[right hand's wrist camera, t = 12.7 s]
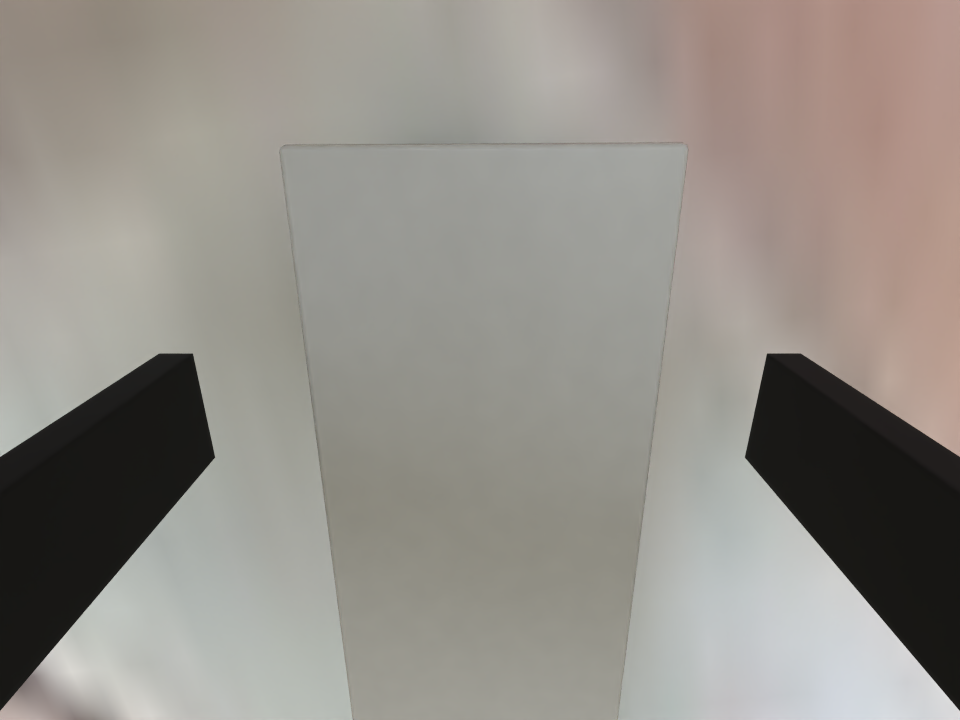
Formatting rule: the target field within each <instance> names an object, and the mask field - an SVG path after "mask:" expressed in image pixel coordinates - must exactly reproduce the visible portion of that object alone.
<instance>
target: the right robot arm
mask: <svg viewBox="0 0 960 720" xmlns="http://www.w3.org/2000/svg"><path fill="white" fill-rule="evenodd" d="M214 458H215V455H214V450H213V446H212V441H211V436H210V432H209V427H208V422H207V418H206V413H205V408H204V404H203V399H202V394H201V390H200V385H199V380H198V376H197V371H196V366H195V362H194V357H193V354H158V355H156V356H155V357H153V358H152V359H150V360H149V361H147V362H146V363H144V364H143V365H141V366H139V367H138V368H136V369H135V370H133V371H132V372H130V373H129V374H127V375H126V376H124V377H123V378H121V379H119V380H118V381H116V382H115V383H113V384H112V385H110V386H109V387H107V388H106V389H104V390H103V391H101V392H99V393H98V394H96V395H95V396H93V397H92V398H90V399H89V400H87V401H86V402H84V403H83V404H81V405H79V406H78V407H76V408H75V409H73V410H72V411H70V412H69V413H67V414H66V415H64V416H63V417H61V418H60V419H58V420H56V421H55V422H53V423H52V424H50V425H49V426H47V427H46V428H44V429H43V430H41V431H40V432H38V433H36V434H35V435H33V436H32V437H30V438H29V439H27V440H26V441H24V442H23V443H21V444H20V445H18V446H16V447H15V448H13V449H12V450H10V451H9V452H7V453H6V454H4V455H3V456H1V457H0V710H1V709H2V708H3V707H4V706H5V704H6V703H7V702H8V701H9V700H10V699H11V697H12V696H13V695H14V694H15V693H16V691H17V690H18V689H19V688H20V687H21V686H22V684H23V683H24V682H25V681H26V680H27V679H28V677H29V676H30V675H31V674H32V673H33V671H34V670H35V669H36V668H37V667H38V666H39V664H40V663H41V662H42V661H43V660H44V658H45V657H46V656H47V655H48V654H49V653H50V651H51V650H52V649H53V648H54V647H55V646H56V644H57V643H58V642H59V641H60V640H61V638H62V637H63V636H64V635H65V634H66V633H67V631H68V630H69V629H70V628H71V627H72V625H73V624H74V623H75V622H76V621H77V620H78V618H79V617H80V616H81V615H82V614H83V612H84V611H85V610H86V609H87V608H88V607H89V605H90V604H91V603H92V602H93V601H94V600H95V598H96V597H97V596H98V595H99V594H100V592H101V591H102V590H103V589H104V588H105V587H106V585H107V584H108V583H109V582H110V581H111V579H112V578H113V577H114V576H115V575H116V574H117V572H118V571H119V570H120V569H121V568H122V567H123V565H124V564H125V563H126V562H127V561H128V559H129V558H130V557H131V556H132V555H133V554H134V552H135V551H136V550H137V549H138V548H139V546H140V545H141V544H142V543H143V542H144V541H145V539H146V538H147V537H148V536H149V535H150V534H151V532H152V531H153V530H154V529H155V528H156V526H157V525H158V524H159V523H160V522H161V521H162V519H163V518H164V517H165V516H166V515H167V513H168V512H169V511H170V510H171V509H172V508H173V506H174V505H175V504H176V503H177V502H178V501H179V499H180V498H181V497H182V496H183V495H184V493H185V492H186V491H187V490H188V489H189V488H190V486H191V485H192V484H193V483H194V482H195V480H196V479H197V478H198V477H199V476H200V475H201V473H202V472H203V471H204V470H205V469H206V468H207V466H208V465H209V464H210V463H211V462H212V460H213V459H214ZM745 458H746V459H747V460H748V462H749V463H750V464H751V465H752V466H753V468H754V469H755V470H756V471H757V472H758V473H759V475H760V476H761V477H762V478H763V479H764V480H765V482H766V483H767V484H768V485H769V486H770V488H771V489H772V490H773V491H774V492H775V493H776V495H777V496H778V497H779V498H780V499H781V501H782V502H783V503H784V504H785V505H786V506H787V508H788V509H789V510H790V511H791V512H792V513H793V515H794V516H795V517H796V518H797V519H798V521H799V522H800V523H801V524H802V525H803V526H804V528H805V529H806V530H807V531H808V532H809V534H810V535H811V536H812V537H813V538H814V539H815V541H816V542H817V543H818V544H819V545H820V546H821V548H822V549H823V550H824V551H825V552H826V554H827V555H828V556H829V557H830V558H831V559H832V561H833V562H834V563H835V564H836V565H837V567H838V568H839V569H840V570H841V571H842V572H843V574H844V575H845V576H846V577H847V578H848V579H849V581H850V582H851V583H852V584H853V585H854V587H855V588H856V589H857V590H858V591H859V592H860V594H861V595H862V596H863V597H864V598H865V600H866V601H867V602H868V603H869V604H870V605H871V607H872V608H873V609H874V610H875V611H876V612H877V614H878V615H879V616H880V617H881V618H882V620H883V621H884V622H885V623H886V624H887V625H888V627H889V628H890V629H891V630H892V631H893V633H894V634H895V635H896V636H897V637H898V638H899V640H900V641H901V642H902V643H903V644H904V646H905V647H906V648H907V649H908V650H909V651H910V653H911V654H912V655H913V656H914V657H915V658H916V660H917V661H918V662H919V663H920V664H921V666H922V667H923V668H924V669H925V670H926V671H927V673H928V674H929V675H930V676H931V677H932V679H933V680H934V681H935V682H936V683H937V684H938V686H939V687H940V688H941V689H942V690H943V691H944V693H945V694H946V695H947V696H948V697H949V699H950V700H951V701H952V702H953V703H954V704H955V706H956V707H957V708H958V709H959V710H960V457H959V456H957V455H956V454H954V453H953V452H951V451H950V450H948V449H947V448H945V447H944V446H942V445H940V444H939V443H937V442H936V441H934V440H933V439H931V438H930V437H928V436H927V435H925V434H924V433H922V432H920V431H919V430H917V429H916V428H914V427H913V426H911V425H910V424H908V423H907V422H905V421H904V420H902V419H900V418H899V417H897V416H896V415H894V414H893V413H891V412H890V411H888V410H887V409H885V408H884V407H882V406H880V405H879V404H877V403H876V402H874V401H873V400H871V399H870V398H868V397H867V396H865V395H864V394H862V393H861V392H859V391H857V390H856V389H854V388H853V387H851V386H850V385H848V384H847V383H845V382H844V381H842V380H841V379H839V378H837V377H836V376H834V375H833V374H831V373H830V372H828V371H827V370H825V369H824V368H822V367H821V366H819V365H817V364H816V363H814V362H813V361H811V360H810V359H808V358H807V357H805V356H804V355H802V354H767V357H766V362H765V366H764V371H763V376H762V380H761V385H760V390H759V394H758V399H757V404H756V408H755V413H754V418H753V422H752V427H751V432H750V436H749V441H748V446H747V450H746V455H745Z"/></svg>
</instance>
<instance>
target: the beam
mask: <svg viewBox="0 0 960 720" xmlns="http://www.w3.org/2000/svg"><path fill="white" fill-rule="evenodd" d="M687 157H688V146H687V144H684V143H514V144H338V145H284V146H282V147H281V148H280V160H281V168H282V175H283V183H284V191H285V199H286V206H287V214H288V222H289V230H290V237H291V245H292V253H293V261H294V268H295V276H296V284H297V292H298V299H299V307H300V315H301V322H302V330H303V338H304V346H305V353H306V361H307V369H308V377H309V384H310V392H311V400H312V408H313V415H314V423H315V431H316V439H317V446H318V454H319V462H320V469H321V477H322V485H323V493H324V500H325V508H326V516H327V524H328V531H329V539H330V547H331V555H332V562H333V570H334V578H335V585H336V593H337V601H338V609H339V616H340V624H341V632H342V640H343V647H344V655H345V663H346V671H347V678H348V686H349V694H350V702H351V709H352V717H353V720H618V712H619V704H620V696H621V688H622V680H623V672H624V663H625V655H626V647H627V639H628V631H629V623H630V615H631V607H632V599H633V591H634V583H635V575H636V567H637V559H638V551H639V543H640V535H641V527H642V519H643V511H644V503H645V495H646V486H647V478H648V470H649V462H650V454H651V446H652V438H653V430H654V422H655V414H656V406H657V398H658V390H659V382H660V374H661V366H662V358H663V350H664V342H665V334H666V326H667V318H668V310H669V301H670V293H671V285H672V277H673V269H674V261H675V253H676V245H677V237H678V229H679V221H680V213H681V205H682V197H683V189H684V181H685V173H686V165H687Z"/></svg>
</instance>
